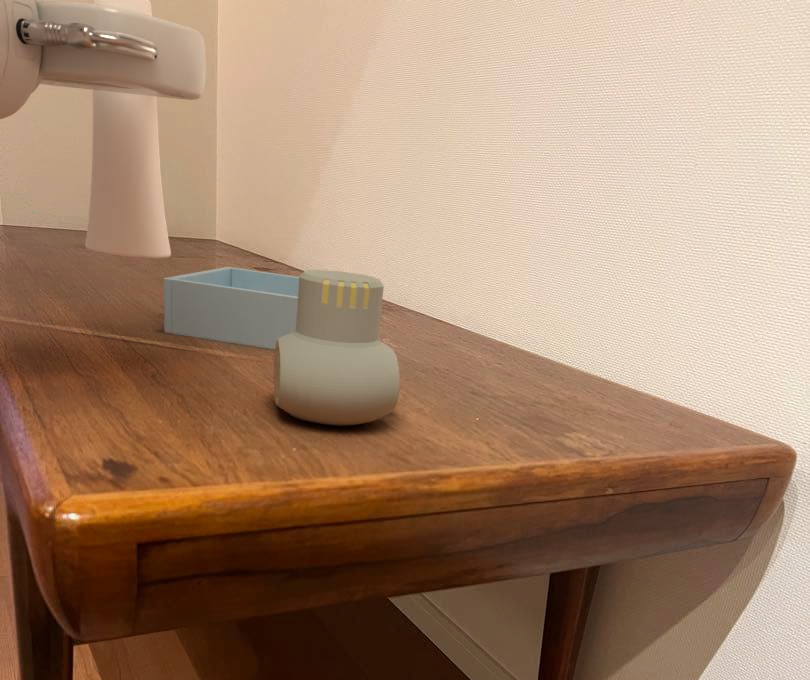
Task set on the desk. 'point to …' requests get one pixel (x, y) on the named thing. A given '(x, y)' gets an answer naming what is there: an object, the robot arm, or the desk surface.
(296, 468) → the desk surface
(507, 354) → the desk surface
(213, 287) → the basket
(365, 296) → the air freshener
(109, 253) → the cosmetic bottle
